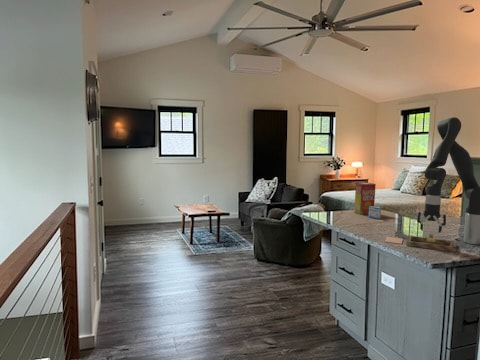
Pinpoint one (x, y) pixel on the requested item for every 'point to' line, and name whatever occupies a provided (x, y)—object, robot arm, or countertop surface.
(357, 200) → the food packaging
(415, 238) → the open wooden frame
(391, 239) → the mat
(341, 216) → the countertop surface
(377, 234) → the countertop surface
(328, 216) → the countertop surface
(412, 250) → the countertop surface
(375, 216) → the medicine box
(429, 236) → the lever cap
